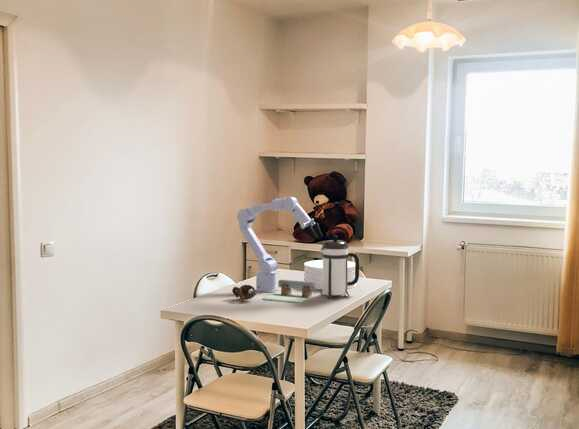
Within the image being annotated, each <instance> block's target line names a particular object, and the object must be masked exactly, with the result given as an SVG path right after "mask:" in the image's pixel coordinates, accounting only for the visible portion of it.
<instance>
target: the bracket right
mask: <svg viewBox="0 0 579 429" xmlns="http://www.w3.org/2000/svg"><path fill="white" fill-rule="evenodd" d="M312 293H313V290H308V287H305V286H302V289H301V298H309V297H311V296H312V295H313V294H312Z"/></svg>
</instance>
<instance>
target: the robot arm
mask: <svg viewBox="0 0 579 429" xmlns="http://www.w3.org/2000/svg"><path fill="white" fill-rule="evenodd" d="M270 210H272V211H273V212H278V211H286V210H288V211H289V212H290V214H291V215H292V217H294V218H295V220H296V221H297V222H298V224H299V225H300V228H301V229H302V230H301V233H303V234H305V235H307V236H308V237H309V238H311V239H312V240H313V241H316V240H317V239H322V237H324V236H323V233H322V232H321V229H320V224H319V223H318V222H315V221H314V220H315V219H314V218H311V217H310V216H309V215H308V214H307V212H306V211H305V210H304V208H302V206H301V205H300V204H299V201H298V199H297V198H296V197H294V196H289V197H287V196H284V197H283V198H273V199H272V200H271V202H270V203H269V202H268V203H264V204H257V205H252V206H249V207H246V208H244V209H243V208H242V209H240V210H239V211H238V213H237V216H236V219H237V221H238V226H239V230H240V232H241V235H243V237H244V239H245V241H246V242H247V244H248V246H250V249H251V250H252V252H253V253H254V255H255V257H256V258H257V262H256V263H257V265H258V270H259V271H260V272H257V274H256V278H255V281H256V282H255V285H256V286H255V292H264V293H265V292H267V293H274V292H276V291H278V290H279V287H277V286H276V282H277V280H276V272H277V269H278V266H279V263H278V262H277V260H276V259H274V258H273V256H272V255H270V254H269V253H267V252H266V250H265V248H264V247H263V245H262V243H261V242H260V239H259V238H258V236H257V235H256V233H255V231H254V230H253V229H252V226H253V223H254V221H255V220H256V218H257V215H259V214H260V213H261V212H264V211H270Z"/></svg>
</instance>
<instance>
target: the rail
mask: <svg viewBox="0 0 579 429" xmlns="http://www.w3.org/2000/svg"><path fill="white" fill-rule="evenodd" d="M281 285H287V288H291V289H296V290H297V289H299V290H302V286H305V287H308V290H312V291H313V290H316V289H315V282H305V281H304V280H303V281H302V280H290V279H279V280H278V287H277V288H281Z"/></svg>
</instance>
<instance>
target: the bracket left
mask: <svg viewBox="0 0 579 429" xmlns="http://www.w3.org/2000/svg"><path fill="white" fill-rule="evenodd" d="M280 288H281V290H280V291H281V292H280V296H288V295H290V294H292V288H287V285H281V287H280Z"/></svg>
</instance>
